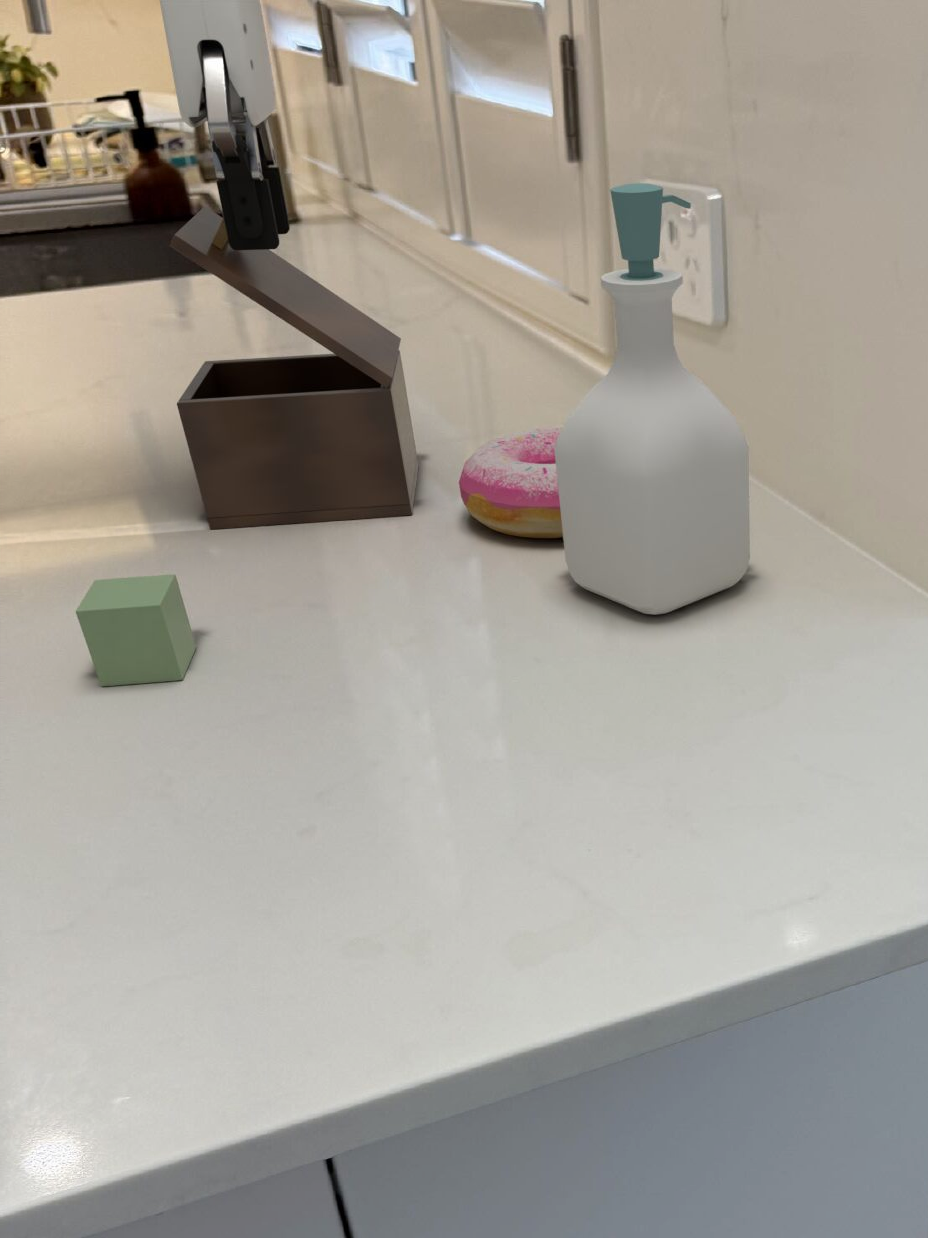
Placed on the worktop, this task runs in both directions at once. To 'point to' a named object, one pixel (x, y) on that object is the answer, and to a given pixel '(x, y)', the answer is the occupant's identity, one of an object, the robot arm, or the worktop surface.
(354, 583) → the worktop surface
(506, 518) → the donut
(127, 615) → the block
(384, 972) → the worktop surface
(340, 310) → the lid
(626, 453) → the soap bottle
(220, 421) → the tea box
